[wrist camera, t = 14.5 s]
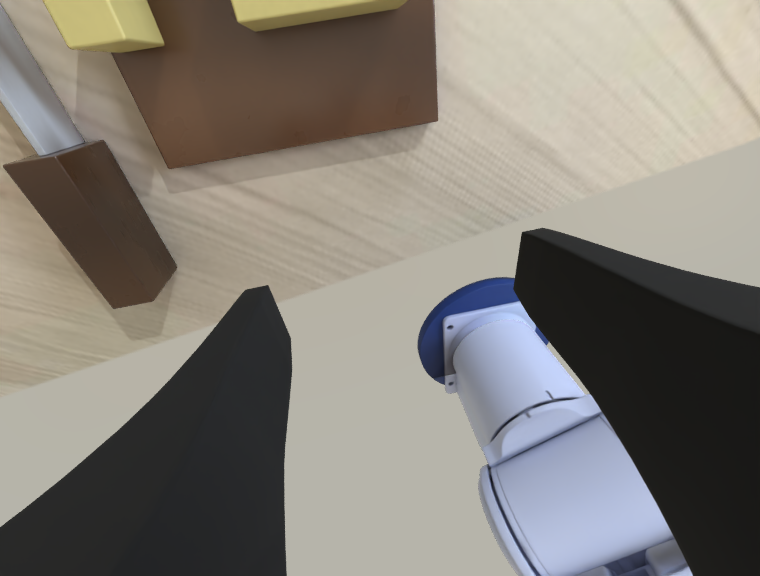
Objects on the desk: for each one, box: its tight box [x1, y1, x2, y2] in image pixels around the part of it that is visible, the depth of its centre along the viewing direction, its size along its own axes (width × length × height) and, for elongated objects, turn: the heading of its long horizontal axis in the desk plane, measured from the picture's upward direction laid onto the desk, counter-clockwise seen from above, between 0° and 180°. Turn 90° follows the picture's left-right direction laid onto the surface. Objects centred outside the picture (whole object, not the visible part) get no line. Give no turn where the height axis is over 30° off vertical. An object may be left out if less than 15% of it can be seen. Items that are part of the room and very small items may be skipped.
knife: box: [0, 4, 177, 309], centre depth 13 cm, size 15×2×3 cm, turn 9°
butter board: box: [111, 0, 438, 169], centre depth 13 cm, size 9×13×1 cm
